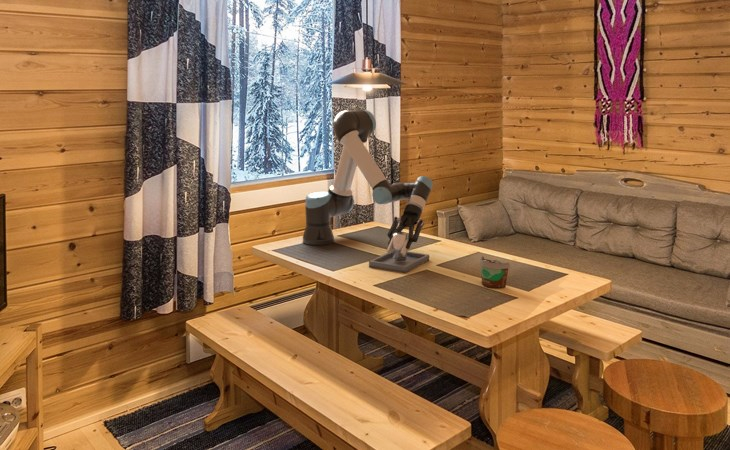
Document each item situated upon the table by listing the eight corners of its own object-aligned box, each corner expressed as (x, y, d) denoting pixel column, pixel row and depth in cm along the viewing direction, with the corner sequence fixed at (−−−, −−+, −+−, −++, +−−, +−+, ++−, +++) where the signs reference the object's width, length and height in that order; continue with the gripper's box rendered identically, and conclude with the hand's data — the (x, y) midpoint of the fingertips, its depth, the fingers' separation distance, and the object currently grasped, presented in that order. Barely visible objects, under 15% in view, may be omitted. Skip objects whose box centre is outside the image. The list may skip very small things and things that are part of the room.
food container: (471, 284, 239) (472, 259, 236) (481, 281, 243) (482, 255, 241) (499, 292, 230) (500, 265, 228) (508, 288, 234) (510, 262, 232)
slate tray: (368, 266, 261) (368, 261, 261) (394, 254, 280) (394, 249, 279) (405, 273, 253) (405, 267, 252) (429, 260, 271) (429, 254, 270)
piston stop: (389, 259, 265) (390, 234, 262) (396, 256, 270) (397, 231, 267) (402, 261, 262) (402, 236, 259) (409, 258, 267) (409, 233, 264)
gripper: (436, 215, 270) (418, 261, 260) (397, 210, 280) (379, 254, 270) (431, 205, 264) (413, 251, 254) (392, 201, 274) (372, 245, 264)
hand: (395, 253), depth 262 cm, fingers closed on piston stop, 6 cm apart
